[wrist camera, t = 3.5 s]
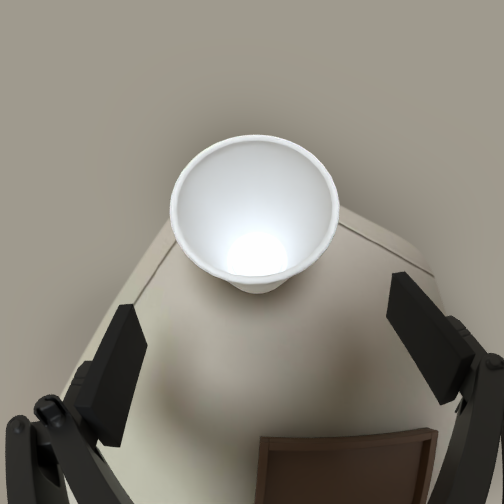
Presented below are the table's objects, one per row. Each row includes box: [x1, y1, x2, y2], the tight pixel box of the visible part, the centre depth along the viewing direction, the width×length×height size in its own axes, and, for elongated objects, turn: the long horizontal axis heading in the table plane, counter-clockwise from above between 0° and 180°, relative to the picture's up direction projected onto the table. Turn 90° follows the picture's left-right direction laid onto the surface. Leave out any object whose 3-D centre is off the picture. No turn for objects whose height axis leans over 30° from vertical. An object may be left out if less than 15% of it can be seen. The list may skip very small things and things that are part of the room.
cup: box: [170, 135, 339, 294], centre depth 23 cm, size 10×10×11 cm
